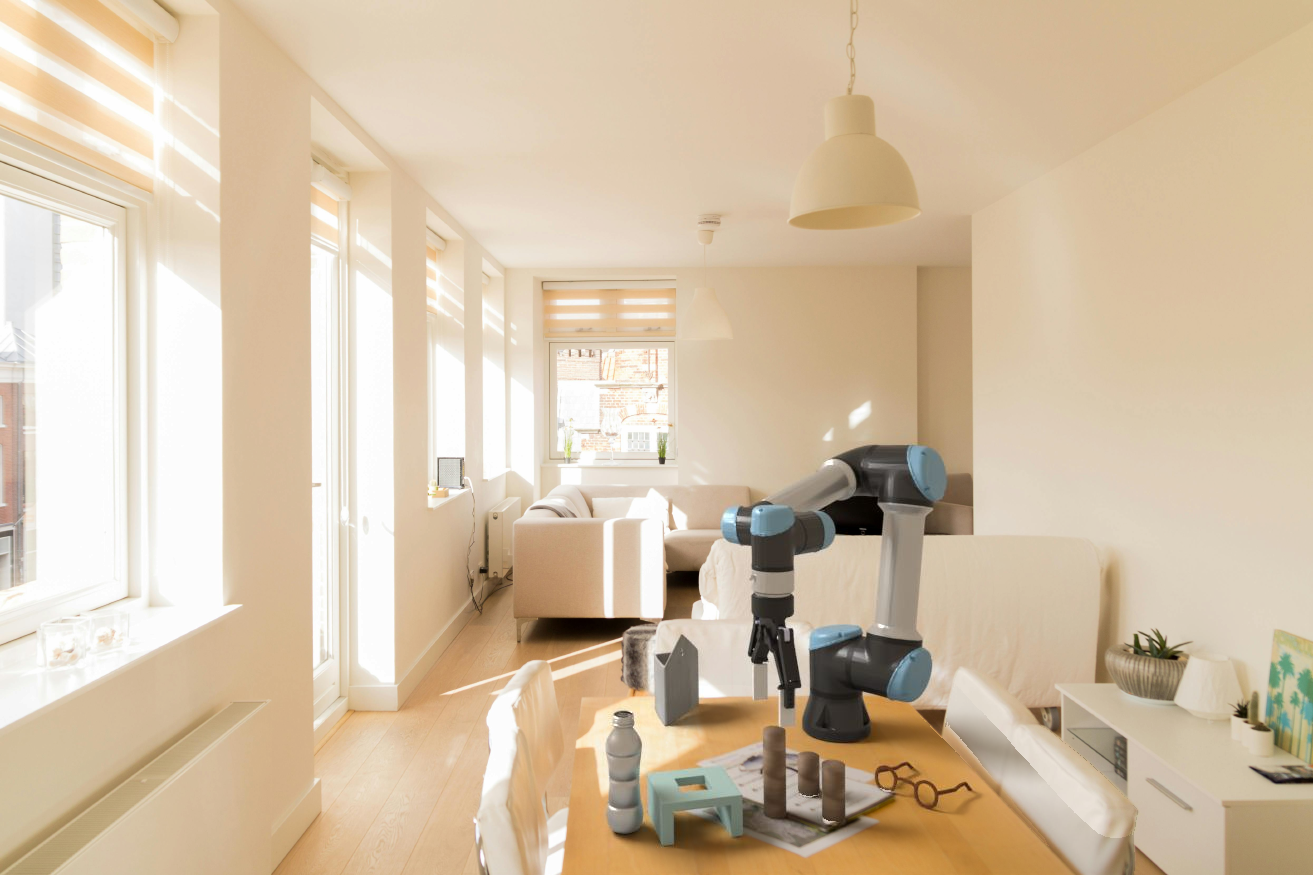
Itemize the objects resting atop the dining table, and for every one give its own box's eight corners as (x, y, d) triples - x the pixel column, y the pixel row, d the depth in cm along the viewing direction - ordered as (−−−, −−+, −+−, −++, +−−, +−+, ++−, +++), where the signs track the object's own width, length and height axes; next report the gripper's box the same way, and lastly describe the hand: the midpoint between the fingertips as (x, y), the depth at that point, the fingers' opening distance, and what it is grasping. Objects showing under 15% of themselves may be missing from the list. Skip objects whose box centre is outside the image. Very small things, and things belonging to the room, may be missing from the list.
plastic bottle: (611, 841, 136) (609, 723, 136) (602, 822, 143) (600, 709, 142) (648, 835, 138) (646, 718, 137) (638, 816, 145) (636, 705, 144)
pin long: (781, 806, 148) (780, 724, 147) (789, 817, 144) (788, 733, 143) (760, 808, 147) (759, 726, 146) (768, 819, 143) (767, 735, 142)
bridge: (722, 802, 149) (721, 764, 149) (742, 835, 138) (742, 794, 137) (647, 811, 146) (647, 773, 146) (662, 845, 135) (661, 804, 134)
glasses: (873, 789, 155) (873, 763, 155) (912, 769, 163) (911, 744, 163) (936, 814, 145) (935, 786, 145) (973, 791, 153) (973, 765, 153)
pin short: (814, 786, 155) (814, 750, 155) (823, 795, 151) (822, 758, 151) (794, 788, 154) (794, 752, 154) (803, 798, 151) (802, 761, 150)
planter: (671, 698, 204) (670, 622, 204) (699, 704, 200) (698, 626, 200) (637, 720, 190) (636, 638, 190) (666, 726, 186) (665, 642, 186)
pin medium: (839, 813, 145) (839, 758, 144) (849, 824, 141) (849, 767, 140) (818, 816, 144) (818, 760, 143) (827, 827, 140) (827, 770, 139)
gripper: (731, 580, 155) (731, 690, 156) (777, 609, 131) (778, 740, 131) (768, 578, 157) (768, 687, 157) (821, 607, 133) (821, 736, 133)
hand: (772, 711), depth 144 cm, fingers open, 13 cm apart
